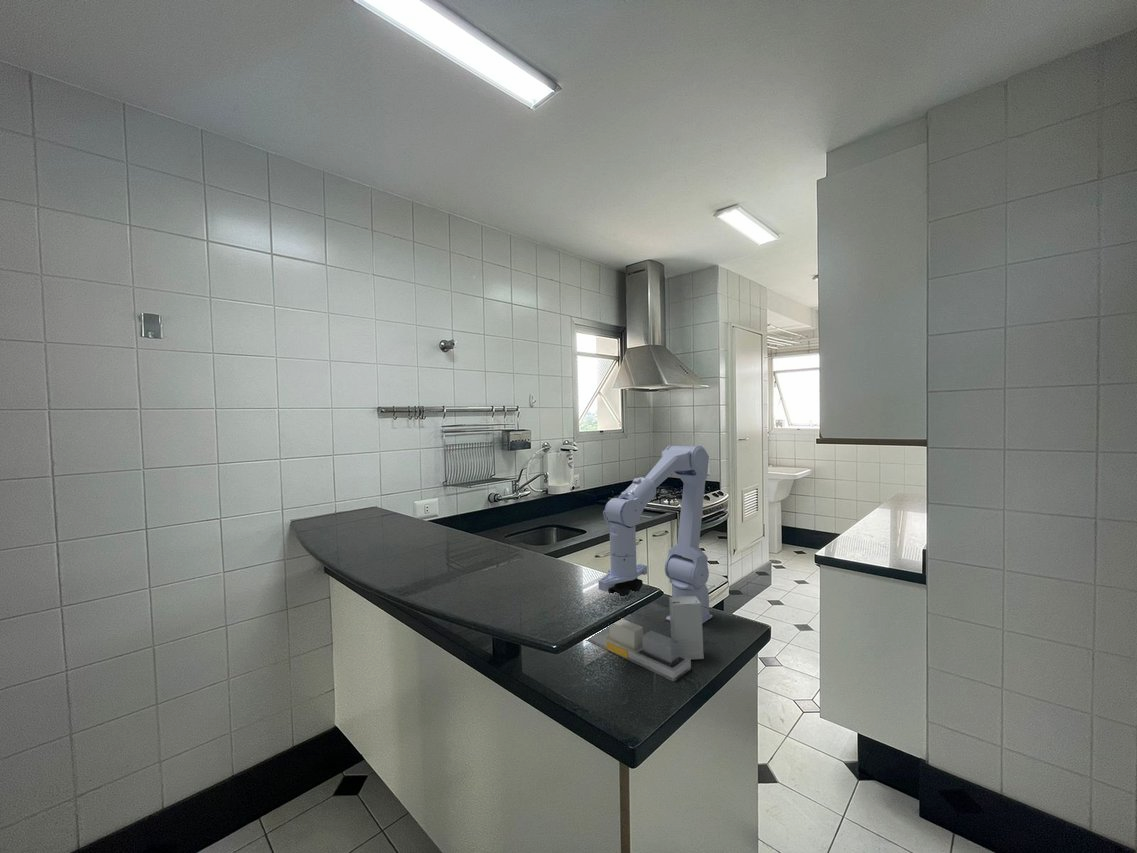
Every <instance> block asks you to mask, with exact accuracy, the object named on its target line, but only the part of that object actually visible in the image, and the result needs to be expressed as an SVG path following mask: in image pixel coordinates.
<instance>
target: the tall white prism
mask: <svg viewBox="0 0 1137 853" xmlns="http://www.w3.org/2000/svg"><path fill="white" fill-rule="evenodd" d="M643 628H644V627H643V626H641V625H639V624H636V623H634V622H632V621H628V620H626V619H625V618H621V620H619V621H617V622H615V623H613V624H612V625H610V640H611V641H613V642H615V643H618V644H620V645H622V646H624V647H626V648H629V649H631V650H633V651H636V650H638V649H639V648H641V647H643V641H642V635H644V632H643V630H644V629H643Z"/></svg>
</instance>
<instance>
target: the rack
mask: <svg viewBox="0 0 1137 853" xmlns="http://www.w3.org/2000/svg"><path fill="white" fill-rule="evenodd" d="M586 641H587V642H589V643H591V644H594V645H595V646H598V647H600V648H602V649H604V650H607V651H608V652H611V653H613V654H614V655H617V656H618V657H620V658H621V657H622V658H623V659H626V660H627V661H629V662H631V663H633V664H636V665H638V666H640V667H642V668H644V669H646V670H648V671H650V672H652V673H654V674H657V675H658V676H661V677H662V678H665V679H667V680H669V681H671V682H676V681H677V680H678V679H680V678H682V676H684V675H685V674H686V673H687V672H689V671H691V669H692V662H691V660H692V659H689V658H687V657H684V656H682V655H680V650H679V641H676V640H674V639H671V637H669V636H666V635H663V634H661V633H659V632H656V631H653V630H649V631H648V632H645V633H643V635H642V641H643V647H641V648H639V649H638V650H636V651H633V650H631V649H629V648H626V647H624V646H622V645H620V644H618V643H615V642H613V641H611V640H610V626H609V627H607V628H606V629H604V630H602V631H601V632H599V633H597V634H595V635H594V636H592V637H591V638H589V639H588V640H586Z"/></svg>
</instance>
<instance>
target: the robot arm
mask: <svg viewBox="0 0 1137 853" xmlns="http://www.w3.org/2000/svg"><path fill="white" fill-rule="evenodd" d="M660 456H661V458H660V459H659V460H658V461H657V463H656V464H655V465H654V466H653V467H652V469H651V470H650V471H649V472H648V473H647V475H646V476H645V477H642V476H641V477H639V476H638V477H635V478H634V479H633V480H632V483H631V484H630V485H629V486H628V487H627V488H626V489H625V490H623V491H622V492H621V493H620V495H619V496H618V497H613V498H611V499H609V501H607V503H606V504H605V506H604V510H603V511H602V515H603V519H604V520H605V521H606V524H607V529H608V531H609V549H610V550H609V552H610V555H609V556H610V568H609V569H608V570H607V574H606V575H605V576H603V578H601V579H599V580H598V583H597V584H598V590H600V591H602V592H607V591H608V594H609V593H614V592H617V593H619V594H620V596H625V595H628V594H629V591H630V590H632V591H635V592H636V591H639V592H640V590H641V588H642V587H643V584H644V582H643V579H639V578H638V577H640V576H642V575H644V576H647V575H648V566H647V565H646V564H642V563H640V564H638V563H637V542H636V541H637V540H636V538H637V537H636V534H637V533H636V525H638V524H639V523H640V520H641V518H642V513H643V512H644V508H646V507H647V505H648V504H649V503H650V502H651V501H652V500H653V499H654V498H655V497H656V496H657V487H659V486H660V485H661V484H662V483H663V482H664V481H666V479H668V478H669V477H670V476H671V475H672V474H674V475H675V476H676V477H678V478H679V479H680V481H681V482H683V483H682V484H683V488H682V498H681V506H680V514H679V525H678V533H677V535H678V536H677V543H676V544H675V545H674V546H672V547H670V549H668V555H667V558H666V560H665V562H664V573H665V577H667V578H668V579H669V584H672V585H671V588H672V589H671V590H672V597H686V596H696V597H697V598H698V600H699V601H700V603H701V612H702V624H704V623H706V622H707V621H708V620H710V619H711V618H713V614H710V596H709V595H710V592H709V589H708V586H707V585H706V584H707V582H708V580H709V577H710V571H709V566H708V564H709V563H708V559H709V558H708V556H707V555H706V553H704V551H703V550H702V549H701V548H700V539H701V538H700V537H701V528H702V527H701V526H702V520H703V517H702V516H703V509H704V498H705V487H706V480H707V479H708V470H709V463H710V462H709V460H710V456H709V454H708V452H707V450H706V449H705V447H703V446H702V445H674V444H670V445H669V444H668V445H667V447H666V448H665V449H664V450H662V451H661V455H660ZM702 606H703V607H702ZM704 607H707V608H709V609H707V608H704ZM633 613H634V612H632V613H630V614H633ZM626 617H627V615H626V616H625V617H624V618H626ZM665 619H666V620H667V621H669V622H671V621H670V615H667V616H666V617H665Z"/></svg>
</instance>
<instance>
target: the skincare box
mask: <svg viewBox="0 0 1137 853" xmlns="http://www.w3.org/2000/svg"><path fill="white" fill-rule="evenodd" d="M668 599H669V600H668V601H669V616H670V621H669V622H670V636H671V637H670V638H671V639H674V640H676V641H679V650H680V655H682V656H684V657H687V658H689V659H691V660H704V659H705V657H704V637H703V636H704V633H703V623H702V612H701V603H700V601H699V600H698V598H697V597H696V596H686V597H673V596H669V598H668Z"/></svg>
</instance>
